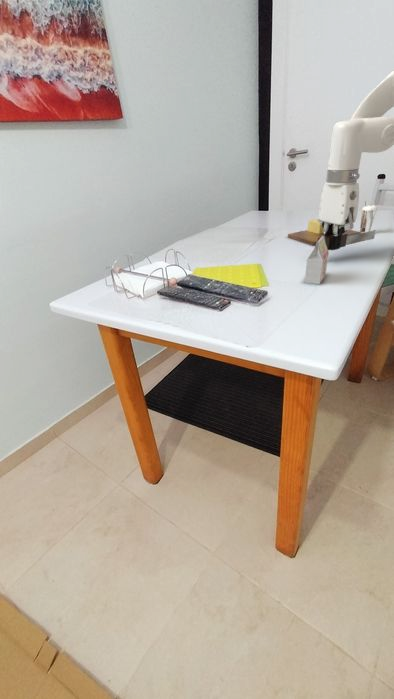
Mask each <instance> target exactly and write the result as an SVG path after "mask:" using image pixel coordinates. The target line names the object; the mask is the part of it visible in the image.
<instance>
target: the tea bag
mask: <svg viewBox="0 0 394 699" xmlns="http://www.w3.org/2000/svg"><path fill="white" fill-rule="evenodd" d="M328 262H329V250H328V249H327V246H326V243H325V239H324V236H322V237H321V238H320V240H319V241H318V242H317V243H316V245H315V246H314V247H313V250H311V252H310V254H309V256H308V258H307V259H306V267H305V276H304V283H308V284H315V285H320V284H321V283H322V282H323V280H324V278H325V277H326V275H327V268H328Z"/></svg>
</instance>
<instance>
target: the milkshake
mask: <svg viewBox="0 0 394 699" xmlns="http://www.w3.org/2000/svg"><path fill="white" fill-rule="evenodd" d="M377 210H378V208H377V206H376V205H373V204H372V205H367V201H366V200H365V201H364V206H363V207H362V208H361V218H360V228H359V232H360V233H364V232H369V231H372V227H373V223H374V219H375V216H376V213H377Z"/></svg>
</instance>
